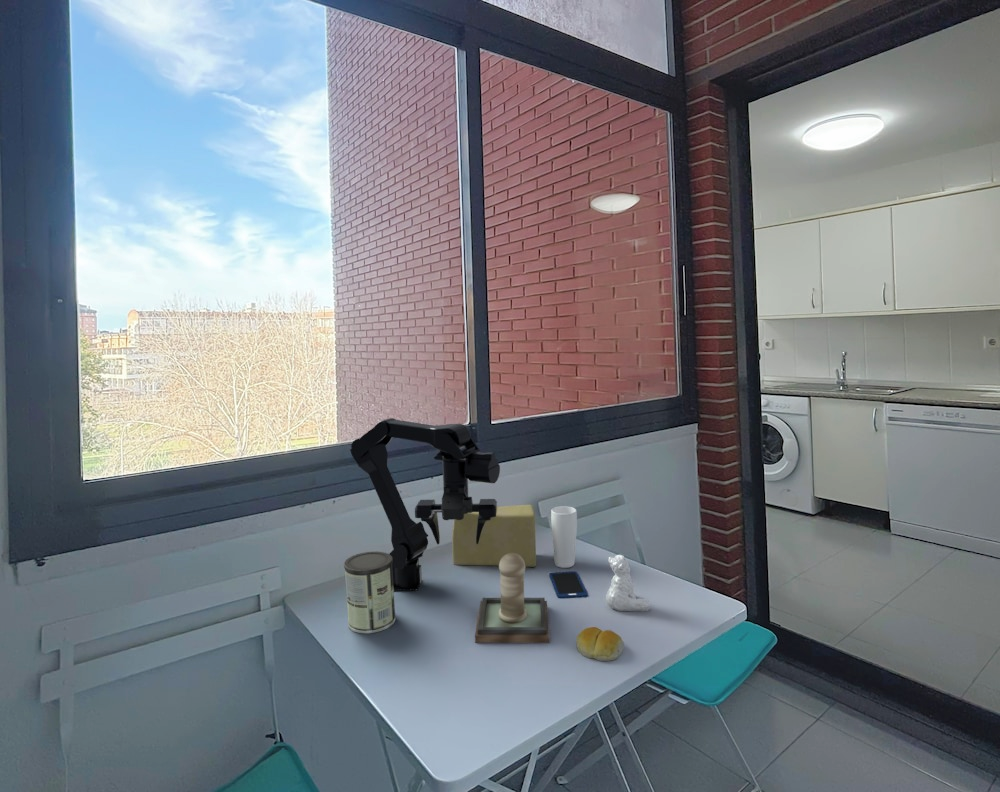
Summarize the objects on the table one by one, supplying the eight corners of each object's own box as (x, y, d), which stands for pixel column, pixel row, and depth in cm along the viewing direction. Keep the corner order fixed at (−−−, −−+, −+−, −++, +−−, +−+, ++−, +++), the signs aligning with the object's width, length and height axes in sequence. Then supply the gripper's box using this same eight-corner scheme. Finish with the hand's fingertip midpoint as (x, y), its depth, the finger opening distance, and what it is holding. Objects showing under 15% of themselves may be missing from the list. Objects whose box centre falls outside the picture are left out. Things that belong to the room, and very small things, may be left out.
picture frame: (475, 642, 121) (474, 631, 120) (480, 607, 135) (480, 596, 135) (549, 642, 120) (549, 630, 119) (546, 607, 135) (546, 596, 134)
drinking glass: (576, 570, 154) (575, 514, 152) (550, 569, 155) (549, 513, 153) (578, 560, 160) (577, 506, 158) (553, 558, 162) (552, 505, 160)
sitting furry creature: (652, 611, 132) (653, 559, 130) (620, 619, 128) (620, 566, 127) (627, 593, 140) (628, 544, 139) (596, 601, 137) (596, 551, 136)
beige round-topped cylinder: (507, 626, 123) (506, 562, 121) (493, 613, 128) (492, 552, 126) (532, 618, 126) (531, 555, 124) (517, 606, 131) (516, 546, 129)
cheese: (452, 571, 155) (450, 516, 153) (454, 557, 165) (452, 504, 163) (536, 568, 156) (535, 513, 154) (533, 554, 166) (532, 502, 164)
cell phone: (557, 600, 139) (557, 597, 139) (548, 575, 152) (548, 572, 152) (588, 598, 139) (588, 595, 139) (576, 573, 153) (576, 570, 153)
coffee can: (364, 607, 137) (360, 549, 135) (404, 613, 133) (401, 553, 131) (337, 630, 127) (334, 567, 125) (380, 637, 124) (376, 572, 122)
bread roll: (586, 635, 123) (586, 616, 122) (627, 646, 118) (627, 627, 118) (568, 654, 116) (568, 635, 115) (612, 667, 111) (612, 647, 111)
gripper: (408, 489, 130) (411, 557, 132) (493, 488, 129) (495, 556, 131) (417, 476, 141) (420, 539, 143) (496, 474, 140) (498, 538, 142)
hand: (457, 543), depth 139 cm, fingers open, 9 cm apart
